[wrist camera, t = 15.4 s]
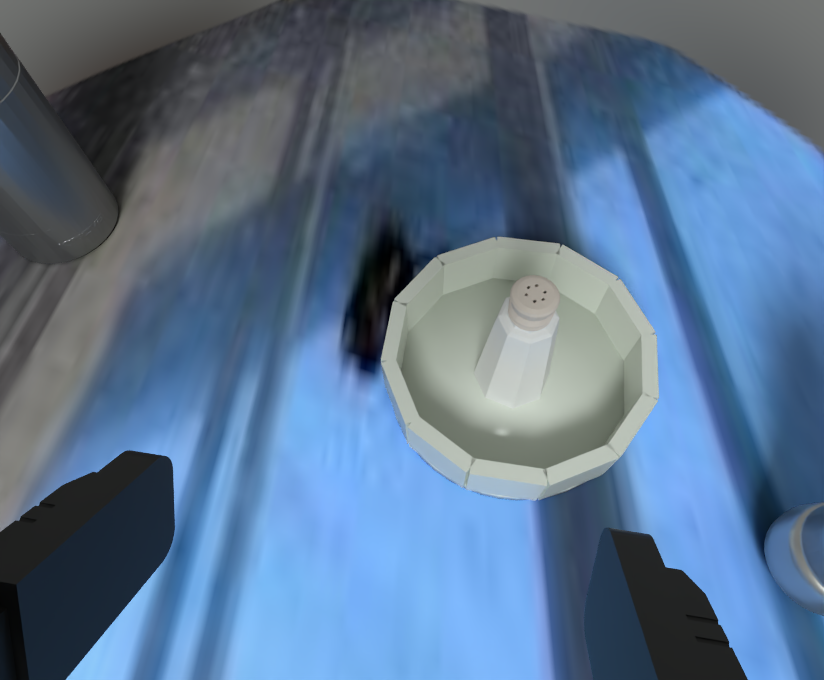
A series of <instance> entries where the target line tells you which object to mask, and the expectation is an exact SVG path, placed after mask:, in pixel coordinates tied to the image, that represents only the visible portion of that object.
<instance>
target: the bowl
mask: <svg viewBox="0 0 824 680" xmlns="http://www.w3.org/2000/svg"><path fill="white" fill-rule="evenodd" d="M529 275H537V276H542V277H545V278H547V279H549V280H550V281H552V282H553V283H554V284H555V285H556V287H557V289H558V290H559V293H560V303H559V305H558V308H557V309H556V312H557V314H558V316H559V326H558V331H557V336H556V341H555V346H554V351H553V356H552V361H551V366H550V371H549V375H548V378H547V381H546V383H545V386H544V389H543V391H542V394H541V396H540V399H538V400H535V401H532V402H530V403H527V404H524V405H522V406H519V407H516V408H513V409H512V408H510V407H507V406H505V405H502V404H500V403H497V402H495V401H493V400H490V399H488V398H485V396H484V394H483V392H482V390H481V387H480V385H479V383H478V381H477V379H476V377H475V374H474V371H475V368H476V366H477V364H478V361H479V359H480V356H481V354H482V352H483V349H484V347H485V344H486V342H487V340H488V337H489V335H490V332H491V330H492V328H493V325H494V323H495V321H496V318H497V316H498V314H499V312H500V309H501V307H502V305H503V303H504V301H505V299H506V298H507V297H510V290H511V288H512V286H513V284H514V283H515V282H516V281H517V280H518V279H520V278H522V277H525V276H529ZM617 279H618V277H617V276H616V275H614V274H612V273H611V272H609V271H607V270H605V269H604V268H602V267H600V266H599V265H597V264H595V263H594V262H592V261H590V260H588V259H587V258H585V257H583V256H582V255H580V254H578V253H576V252H575V251H573V250H571V249H570V248H568V247H566V246H564V245H562V246H561V248H560V244H558V243H550V242H541V241H532V240H523V239H515V238H506V237H497V240H496V238H495V237H493V238H490V239H486V240H483V241H480V242H477V243H474V244H471V245H468V246H465V247H462V248H459V249H456V250H453V251H450V252H447V253H444V254H440V255H437V258H436V257H434V258H433V259H432V260H431V261H430V263H429V264H428V265H427V266H426V267H425V268H424V269H423V270H422V271H421V272H420V273H419V274H418V275H417V276H416V277H415V278H414V279H413V280H412V281H411V282H410V283H409V284H408V285H407V286H406V287H405V288H404V290H403V291H402V292H401V293H400V294H399V295H398V296H397V297H396V298H395V299H394V301H395V302H394V301H393V304H392V309H391V314H390V318H389V323H388V328H387V333H386V338H385V343H384V347H383V352H382V357H381V365H382V371H383V377H384V383H385V388H386V390H387V393H388V395H389V398H390V401H391V403H392V406H393V409H394V413H395V416H396V419H397V421H398V423H399V426H400V428H401V430H402V432H403V434H404V437H405V439H406V442H407V444H408V443H409V447H411V448H412V449H413V450H414V451H416V452H417V454H418V455H419V456H420V457H421V458H422V459H423V460H424V461H425V462H426V463H427V464H428V465H429V466H430V467H431V468H433V469H434V470H435V471H436V472H438V473H439V474H440V475H442V476H443V477H445V478H446V479H448V480H449V481H451V482H453V483H455V484H457V485H459V486H460V487H461V488H465V489H466V490H470V491H473V492H475V493H478V494H481V495H485V496H489V497H494V498H498V499H508V500H534V501H536V500H537V499H538V500H541V499H544V498H546V497H551V496H554V495H557V494H560V493H563V492H566V491H569V490H571V489H573V488H575V487H577V486H579V485H581V484H583V483H584V482H586V481H588V480H591V479H593V478H596V477H598V476H601V475H602V474H603V473H604V472H605V471H606V470H608V469H609V468H610V467H611V466H612V465H613V464H614V463H615V462H616V461H617V460H618V459H619V458H620V457H621V456H622V454H623V453H624V451H625V450H626V448H627V447H628V445H629V444H630V442H631V441H632V439H633V438H634V436H635V435H636V433H637V432H638V430H639V429H640V427H641V426H642V424H643V423H644V421H645V420H646V418H647V417H648V415H649V414H650V412H651V411H652V409H653V408H654V406H655V405H656V403H657V402H658V401H657V399H658V398H659V389H658V362H657V335H654V334H655V330H654V329H653V327H652V326H651V324H650V323H649V321H648V320H647V318H646V317H645V315H644V314H643V312H642V311H641V309H640V308H639V306H638V305H637V303H636V302H635V300H634V299H633V297H632V296H631V294H630V293H629V291H628V290H627V288H626V287H625V285H624V284H623V282H622V281H621V279H619V280H617Z"/></svg>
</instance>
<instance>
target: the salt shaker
mask: <svg viewBox="0 0 824 680" xmlns="http://www.w3.org/2000/svg"><path fill="white" fill-rule="evenodd" d="M559 303H560V293H559V290H558V289H557V287H556V285H555V284H554V283H553V282H552V281H550V280H549V279H547V278H545V277H542V276H537V275H529V276H525V277H522V278H520V279H518V280H517V281H516V282H515V283H514V284H513V286H512V288H511V290H510V297H507V298H506V299H505V301H504V303H503V305H502V307H501V309H500V312H499V314H498V316H497V318H496V321H495V323H494V325H493V328H492V330H491V332H490V335H489V337H488V340H487V342H486V344H485V347H484V349H483V352H482V354H481V356H480V359H479V361H478V364H477V366H476V368H475V371H474V374H475V377H476V379H477V381H478V383H479V385H480V387H481V390H482V392H483V394H484V396H485V398H488V399H490V400H493V401H495V402H497V403H500V404H502V405H505V406H507V407H510V408H512V409H513V408H516V407H519V406H522V405H524V404H527V403H530V402H532V401H535V400H538V399H540V396H541V394H542V391H543V389H544V386H545V383H546V381H547V378H548V375H549V371H550V366H551V361H552V356H553V351H554V346H555V341H556V336H557V331H558V326H559V316H558V314H557V312H556V309H557V308H558V305H559Z"/></svg>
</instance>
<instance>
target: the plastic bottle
mask: <svg viewBox="0 0 824 680" xmlns="http://www.w3.org/2000/svg"><path fill="white" fill-rule="evenodd" d="M764 552H765V558H766V562H767V565H768V567H769V570H770V572H771V574H772V576H773V578H774V579H775V581H776V583H777V584H778V585H779V586H780V588H781V589H782V590H783V591H784V592H785V593H786V594H787V595H788V596H789V597H790V598H791V599H792V600H793V601H795V602H796V603H797V604H799V605H800V606H802V607H803V608H805V609H807V610H809V611H811V612H813V613H816V614H819V615H823V616H824V502H820V503H811V504H803V505H799V506H796V507H793V508H791V509H790V510H788V511H786V512H785V513H784V514H782V515H781V516H780V517H779V518H777V519H776V520H775V521H774V522H773V523H772V524H771V526H770V527H769V529H768V531H767V533H766V537H765V541H764Z"/></svg>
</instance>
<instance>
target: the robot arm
mask: <svg viewBox="0 0 824 680" xmlns="http://www.w3.org/2000/svg"><path fill="white" fill-rule="evenodd" d="M117 217H118V204H117V201H116V198H115V197H114V195H113V194H112V192H111V191H110V190H109V188H108V187H107V185H106V184H105V182H104V181H103V179H102V178H101V177H100V175H99V174H98V172H97V171H96V169H95V168H94V166H93V165H92V163H91V162H90V160H89V159H88V157H87V156H86V155H85V153H84V152H83V150H82V149H81V147H80V146H79V145H78V143H77V142H76V140H75V139H74V137H73V136H72V135H71V133H70V132H69V130H68V129H67V127H66V126H65V124H64V123H63V122H62V120H61V119H60V117H59V116H58V114H57V113H56V112H55V110H54V109H53V107H52V106H51V104H50V103H49V102H48V100H47V99H46V97H45V96H44V94H43V93H42V92H41V90H40V89H39V87H38V86H37V84H36V83H35V81H34V80H33V79H32V77H31V76H30V74H29V73H28V72H27V70H26V69H25V67H24V66H23V64H22V63H21V61H20V60H19V59H18V57H17V56H16V54H15V53H14V52H13V50H12V49H11V48H10V46H9V45H8V43H7V42H6V40H5V39H4V37H3V36H2V35H1V33H0V236H1V237H2V238H4V239H5V240H6V241H7V242H8V243H9V244H10V245H11V246H12V247H13V248H14V249H15V250H16V251H17V252H18V253H19V254H21V255H22V256H23V257H24V258H26V259H28V260H30V261H33V262H37V263H42V264H55V263H63V262H67V261H70V260H74V259H77V258H79V257H81V256H83V255H85V254H87V253H89V252H90V251H92V250H93V249H95V248H96V247H98V246H99V245H100V244H101V243H102V242H103V241H104V240H105V239H106V238H107V237H108V235H109V234H110V233H111V232H112V230H113V228H114V226H115V224H116V221H117ZM174 530H175V519H174V488H173V466H172V462H171V460H170V459H169V458H168V457H167V456H161V455H155V454H149V453H143V452H136V451H130V450H129V451H125V452H123V453H122V454H120V455H119V456H118V457H116V458H115V459H114V460H113V461H111V462H110V463H109V464H107V465H106V466H105V467H104V468H102V469H101V470H100V471H99V472H97V473H96V472H92V473H89V474H87V475H85V476H83V477H80V478H78V479H76V480H73V481H71V482H69V483H66V484H64V485H62V486H61V487H60V488H58V489H57V490H56V491H54V492H53V493H52V494H50V495H49V496H48V497H46V498H45V499H44V500H42V501H41V502H40V504H39V506H34V507H33V508H32V509H30V510H29V511H28V512H26V513H25V514H24V515H22V516H21V518H20V520H19V521H14V522H13V523H12V524H10V525H9V526H8V527H6V528H5V529H4V530H2V531H1V532H0V680H66V678H67V677H68V676H69V675H70V674H71V672H72V671H73V670H74V669H75V667H76V666H77V665H78V664H79V663H80V661H81V660H82V659H83V658H84V657H85V655H86V654H87V653H88V652H89V651H90V649H91V648H92V647H93V646H94V644H95V643H96V642H97V641H98V640H99V638H100V637H101V636H102V635H103V634H104V632H105V631H106V630H107V629H108V627H109V626H110V625H111V624H112V623H113V621H114V620H115V619H116V618H117V617H118V615H119V614H120V613H121V612H122V611H123V609H124V608H125V607H126V606H127V604H128V603H129V602H130V601H131V600H132V598H133V597H134V596H135V595H136V594H137V592H138V591H139V590H140V589H141V587H142V586H143V585H144V584H145V583H146V581H147V580H148V579H149V578H150V577H151V575H152V574H153V573H154V572H155V571H156V569H157V568H158V567H159V566H160V564H161V563H162V562H163V561H164V559H165V557H166V556H167V554H168V552H169V549H170V547H171V544H172V541H173V536H174ZM584 631H585V639H586V644H587V649H588V654H589V660H590V665H591V670H592V675H593V680H748V679H747V677H746V675H745V673H744V671H743V669H742V667H741V665H740V663H739V661H738V659H737V657H736V655H735V653H734V651H733V649H732V648H730V647H729V641H728V639H727V637H726V635H725V633H724V631H723V629H722V627H721V625H718V619H717V617H716V615H715V613H714V610H713V608H712V606H711V604H710V602H709V600H708V598H707V596H706V594H705V593H704V592H703V591H702V590H701V589H700V588H699V587H698V586H697V585H696V584H695V583H694V582H693V581H692V580H691V579H690V578H689V577H688V576H687V575H686V574H685V573H684V572H683V571H682V570H678V569H672V568H666V567H665V565H664V563H663V560H662V558H661V556H660V553H659V551H658V549H657V546H656V544H655V542H654V540H653V538H652V536H651V535H649V534H643V533H637V532H631V531H625V530H618V529H612V528H605V529H604V530H603V532H602V534H601V537H600V541H599V545H598V550H597V554H596V558H595V563H594V567H593V571H592V576H591V580H590V584H589V588H588V593H587V597H586V603H585V612H584Z"/></svg>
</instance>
